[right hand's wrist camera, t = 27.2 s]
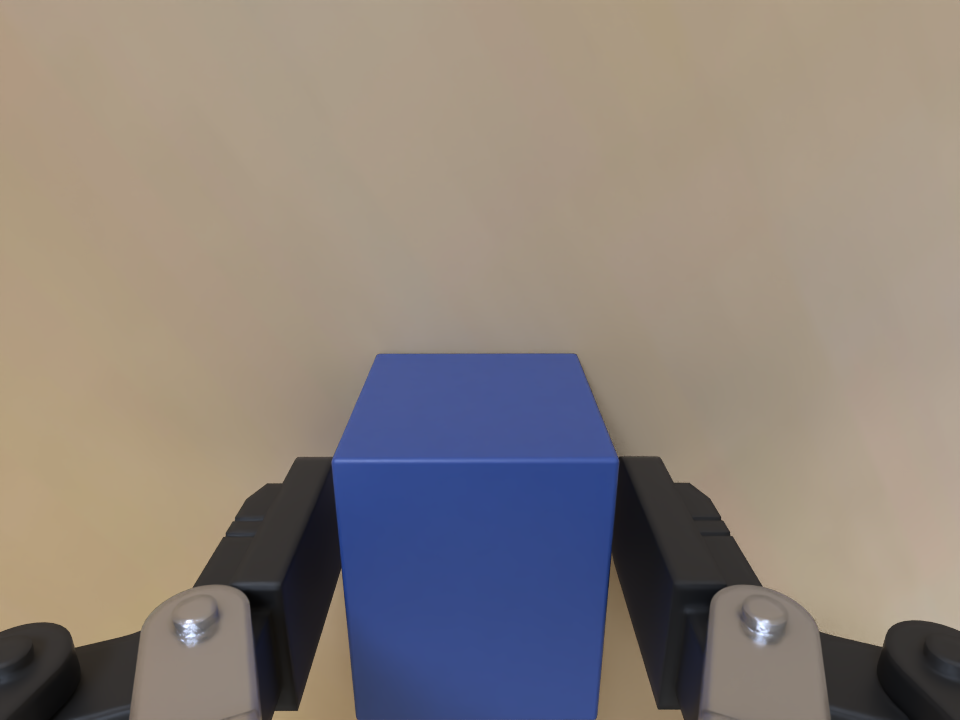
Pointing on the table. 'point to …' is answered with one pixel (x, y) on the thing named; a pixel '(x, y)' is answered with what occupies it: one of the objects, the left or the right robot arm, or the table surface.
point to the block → (476, 538)
